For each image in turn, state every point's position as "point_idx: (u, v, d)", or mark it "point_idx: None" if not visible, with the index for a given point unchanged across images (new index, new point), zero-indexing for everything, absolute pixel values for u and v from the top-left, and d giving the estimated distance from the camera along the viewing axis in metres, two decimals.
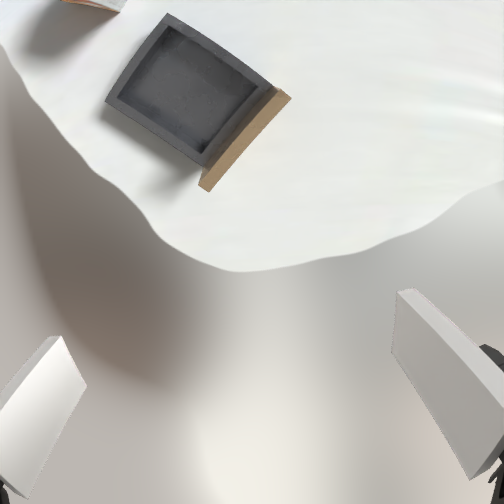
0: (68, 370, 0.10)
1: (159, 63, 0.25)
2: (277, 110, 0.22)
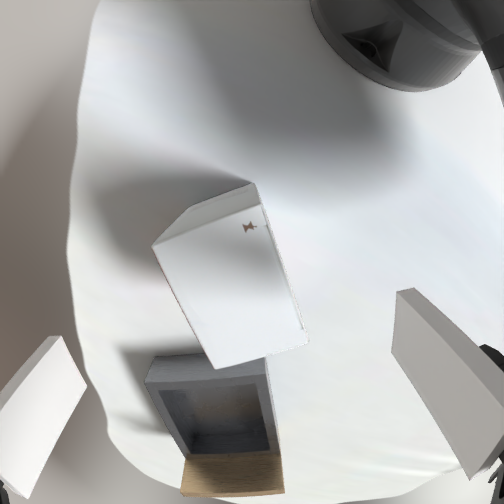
0: (68, 370, 0.10)
1: None
2: (269, 494, 0.23)
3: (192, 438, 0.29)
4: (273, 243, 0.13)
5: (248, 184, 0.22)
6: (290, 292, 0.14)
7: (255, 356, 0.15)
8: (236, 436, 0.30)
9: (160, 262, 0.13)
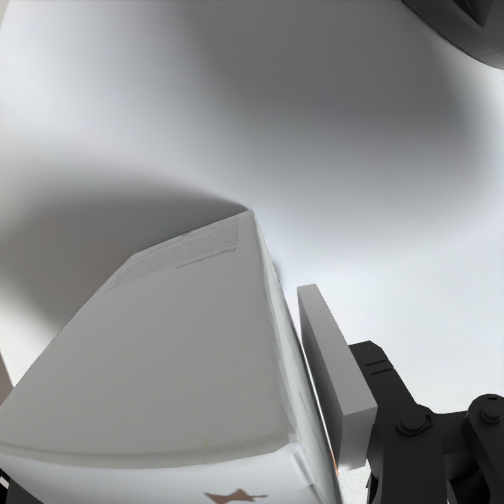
0: None
1: None
2: None
3: None
4: None
5: (241, 213, 0.11)
6: None
7: None
8: None
9: (13, 479, 0.03)
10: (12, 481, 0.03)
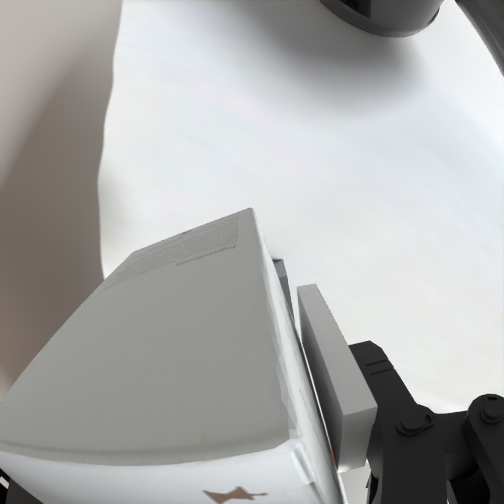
0: None
1: None
2: None
3: None
4: None
5: (241, 211, 0.11)
6: None
7: None
8: None
9: (11, 477, 0.03)
10: (12, 481, 0.03)
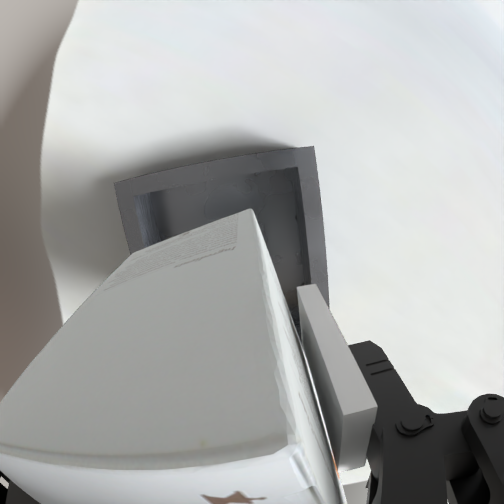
0: None
1: (227, 193, 0.18)
2: None
3: None
4: None
5: (240, 212, 0.11)
6: None
7: None
8: None
9: (10, 479, 0.03)
10: None
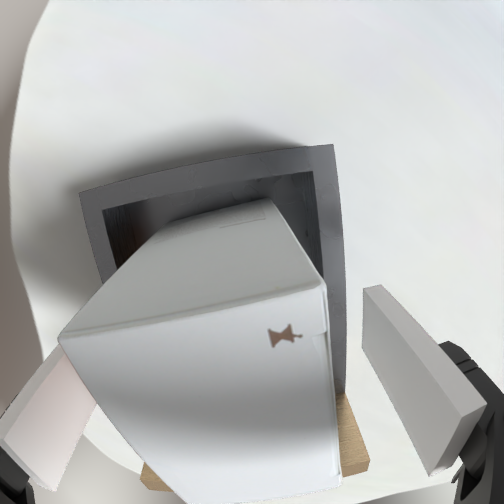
0: None
1: (221, 203, 0.15)
2: None
3: None
4: (330, 367, 0.05)
5: (261, 199, 0.14)
6: (336, 437, 0.06)
7: (253, 500, 0.07)
8: None
9: (79, 372, 0.05)
10: None
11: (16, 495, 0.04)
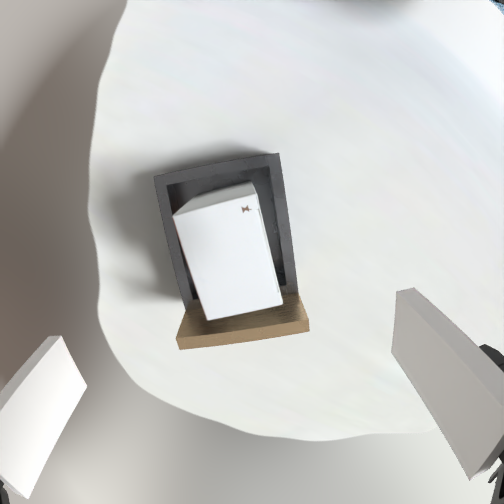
0: (68, 370, 0.10)
1: (226, 184, 0.28)
2: (290, 332, 0.24)
3: None
4: (262, 223, 0.19)
5: None
6: (271, 261, 0.19)
7: (240, 311, 0.20)
8: None
9: (178, 229, 0.18)
10: None
11: None
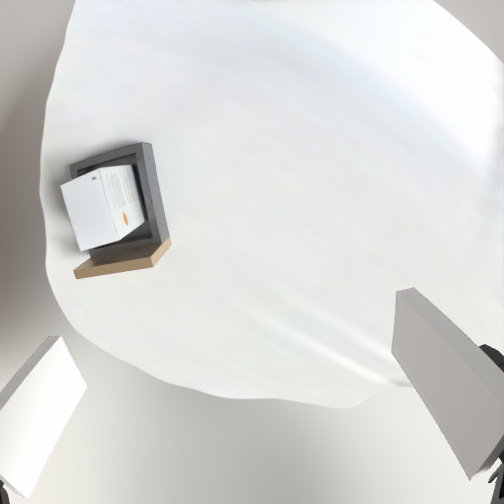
0: (68, 370, 0.10)
1: None
2: (140, 267, 0.32)
3: None
4: (103, 186, 0.27)
5: None
6: (110, 210, 0.28)
7: (96, 244, 0.29)
8: (133, 237, 0.39)
9: (62, 193, 0.27)
10: None
11: None
